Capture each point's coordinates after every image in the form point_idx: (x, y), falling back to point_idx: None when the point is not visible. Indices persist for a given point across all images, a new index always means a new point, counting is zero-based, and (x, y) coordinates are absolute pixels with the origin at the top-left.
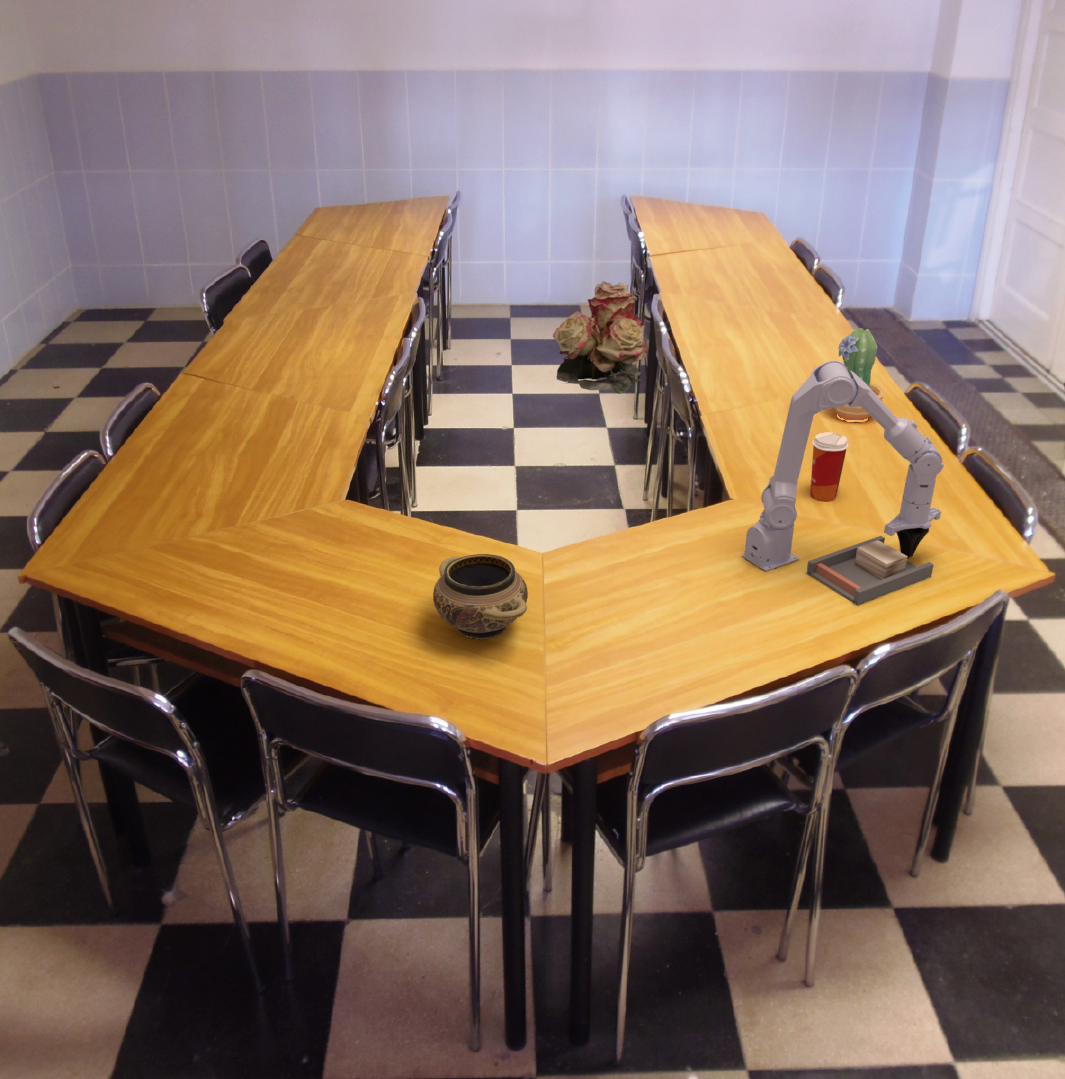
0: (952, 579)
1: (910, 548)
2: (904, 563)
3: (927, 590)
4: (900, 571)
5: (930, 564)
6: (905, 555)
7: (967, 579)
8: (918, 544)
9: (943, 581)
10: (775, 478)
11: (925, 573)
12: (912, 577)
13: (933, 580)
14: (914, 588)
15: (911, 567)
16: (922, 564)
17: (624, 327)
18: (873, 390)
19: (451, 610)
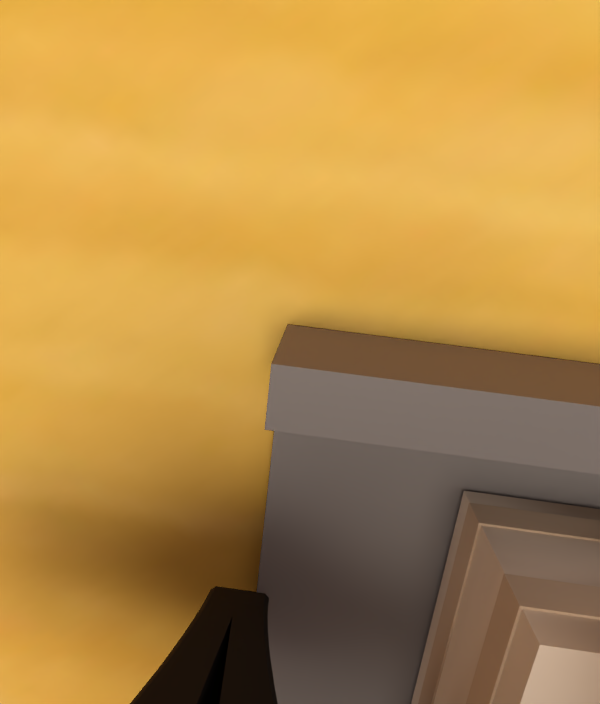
0: (164, 170)
1: (275, 701)
2: (532, 572)
3: (534, 199)
4: (540, 519)
5: (305, 385)
6: (537, 669)
7: (41, 72)
8: (143, 699)
9: (265, 203)
10: None
11: (383, 353)
12: (590, 383)
13: (323, 274)
14: (588, 300)
15: (324, 503)
16: (377, 443)
17: None
18: None
19: None
